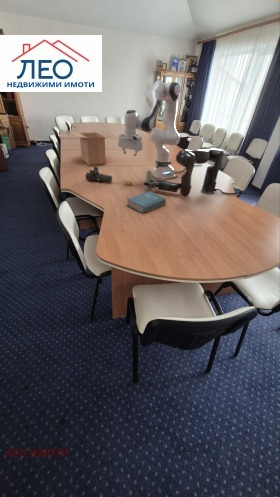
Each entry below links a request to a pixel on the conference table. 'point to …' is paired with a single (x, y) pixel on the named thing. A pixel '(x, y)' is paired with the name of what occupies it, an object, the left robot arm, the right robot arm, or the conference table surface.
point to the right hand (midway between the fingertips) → (145, 182)
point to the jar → (148, 179)
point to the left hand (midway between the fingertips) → (129, 154)
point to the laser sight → (98, 176)
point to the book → (146, 201)
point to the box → (92, 146)
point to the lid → (128, 182)
